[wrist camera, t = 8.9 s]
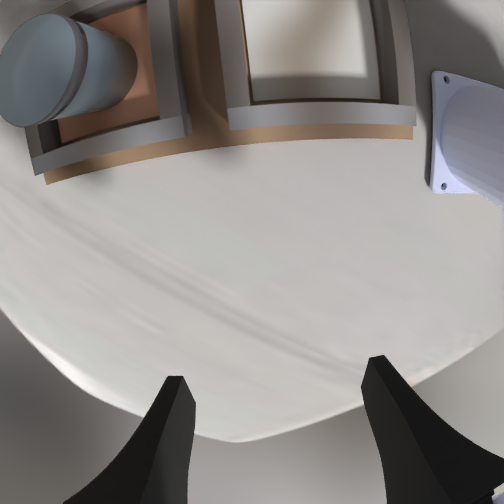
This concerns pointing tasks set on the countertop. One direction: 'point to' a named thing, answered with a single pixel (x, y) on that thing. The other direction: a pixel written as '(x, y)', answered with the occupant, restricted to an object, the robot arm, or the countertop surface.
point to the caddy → (238, 79)
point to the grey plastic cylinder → (62, 70)
